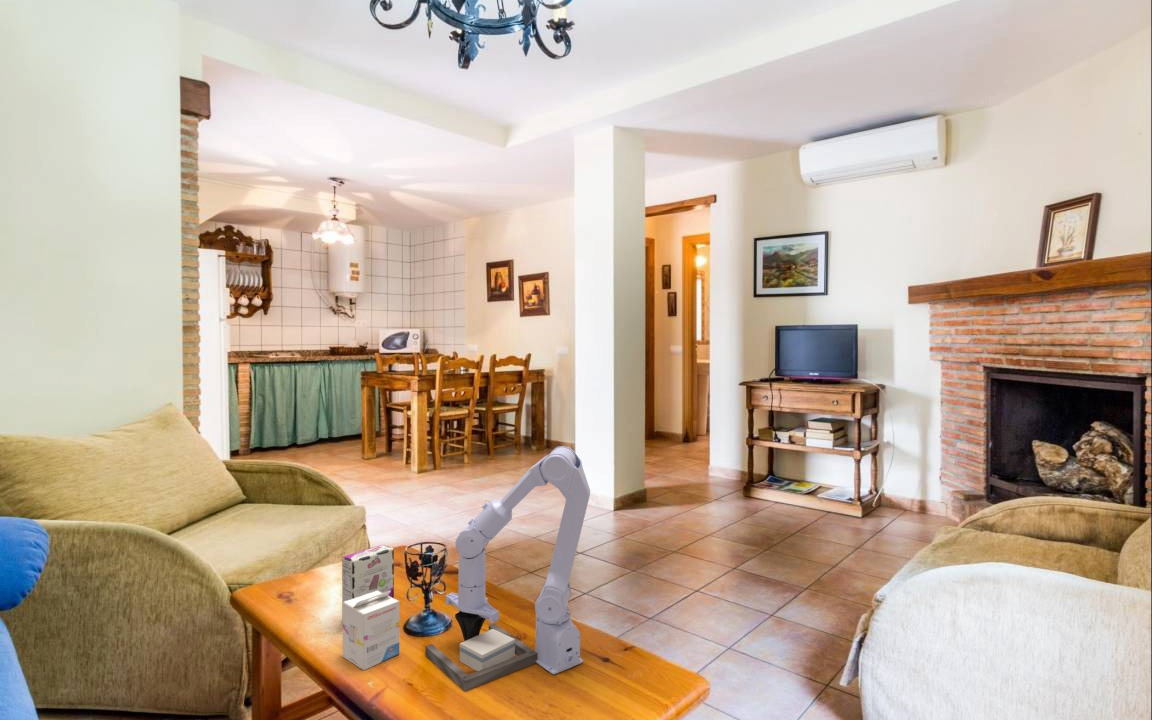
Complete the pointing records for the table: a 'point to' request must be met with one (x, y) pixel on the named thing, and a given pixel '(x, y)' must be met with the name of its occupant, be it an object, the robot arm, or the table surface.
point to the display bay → (487, 674)
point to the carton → (487, 650)
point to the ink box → (370, 629)
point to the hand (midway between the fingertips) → (470, 645)
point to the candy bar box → (368, 573)
